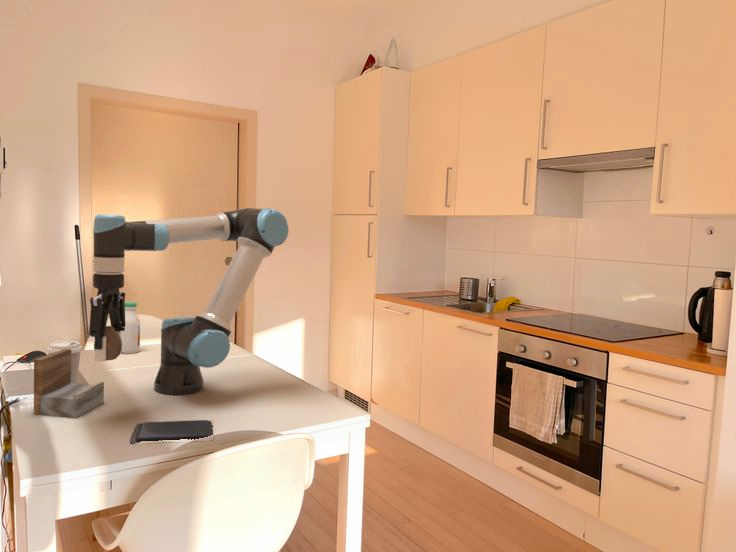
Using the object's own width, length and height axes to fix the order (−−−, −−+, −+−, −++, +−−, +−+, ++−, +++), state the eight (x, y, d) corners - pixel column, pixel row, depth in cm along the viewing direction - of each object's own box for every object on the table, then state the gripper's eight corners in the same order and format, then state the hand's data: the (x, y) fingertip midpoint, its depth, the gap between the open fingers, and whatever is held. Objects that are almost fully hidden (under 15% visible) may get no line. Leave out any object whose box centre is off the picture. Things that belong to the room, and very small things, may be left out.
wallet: (127, 439, 137) (137, 418, 151) (127, 447, 137) (137, 425, 151) (213, 437, 141) (215, 416, 156) (213, 444, 142) (215, 423, 156)
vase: (103, 363, 149) (104, 330, 148) (88, 358, 153) (88, 326, 152) (127, 358, 155) (127, 327, 154) (111, 354, 159) (112, 323, 158)
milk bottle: (134, 354, 225) (135, 304, 223) (115, 353, 225) (116, 303, 223) (142, 350, 232) (143, 301, 231) (123, 349, 233) (124, 300, 231)
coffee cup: (66, 398, 168) (67, 348, 166) (38, 394, 169) (38, 345, 168) (88, 389, 177) (89, 342, 176) (61, 386, 179) (62, 339, 178)
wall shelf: (103, 402, 166) (104, 351, 165) (76, 417, 152) (77, 362, 151) (63, 399, 167) (64, 348, 165) (33, 414, 153) (34, 359, 152)
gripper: (114, 269, 162) (113, 348, 164) (73, 275, 142) (72, 365, 144) (140, 270, 161) (138, 350, 163) (102, 276, 142) (101, 367, 144)
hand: (107, 357), depth 154 cm, fingers closed on vase, 7 cm apart
